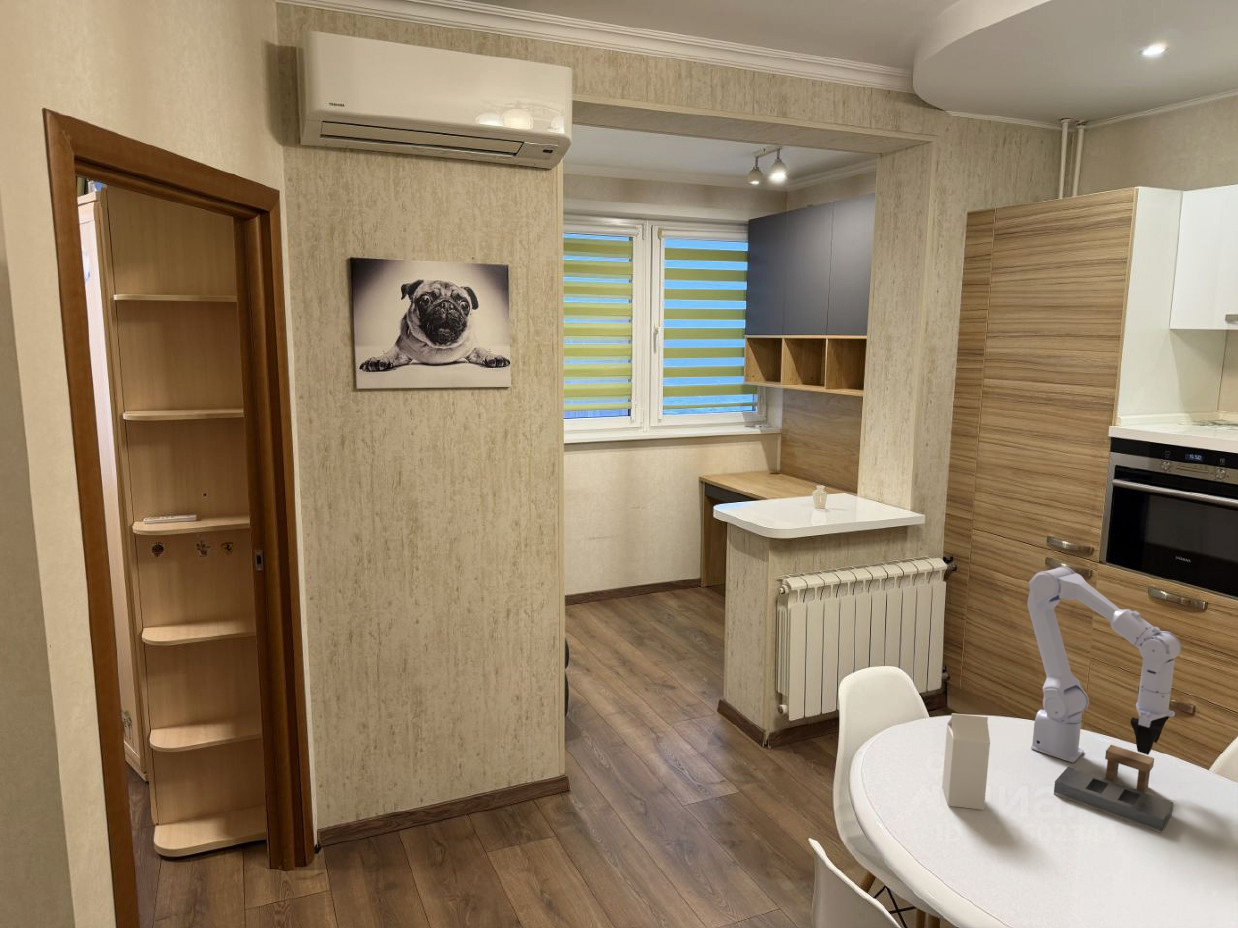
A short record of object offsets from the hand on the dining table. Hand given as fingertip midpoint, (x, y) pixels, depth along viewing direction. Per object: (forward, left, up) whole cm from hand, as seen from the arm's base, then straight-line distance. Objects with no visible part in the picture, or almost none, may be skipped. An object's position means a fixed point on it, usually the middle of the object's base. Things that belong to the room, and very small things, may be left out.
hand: (1147, 746), depth 180 cm
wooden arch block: (-3, -1, -9) cm, 10 cm away
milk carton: (-26, -34, -10) cm, 44 cm away
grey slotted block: (-3, -13, -9) cm, 16 cm away
